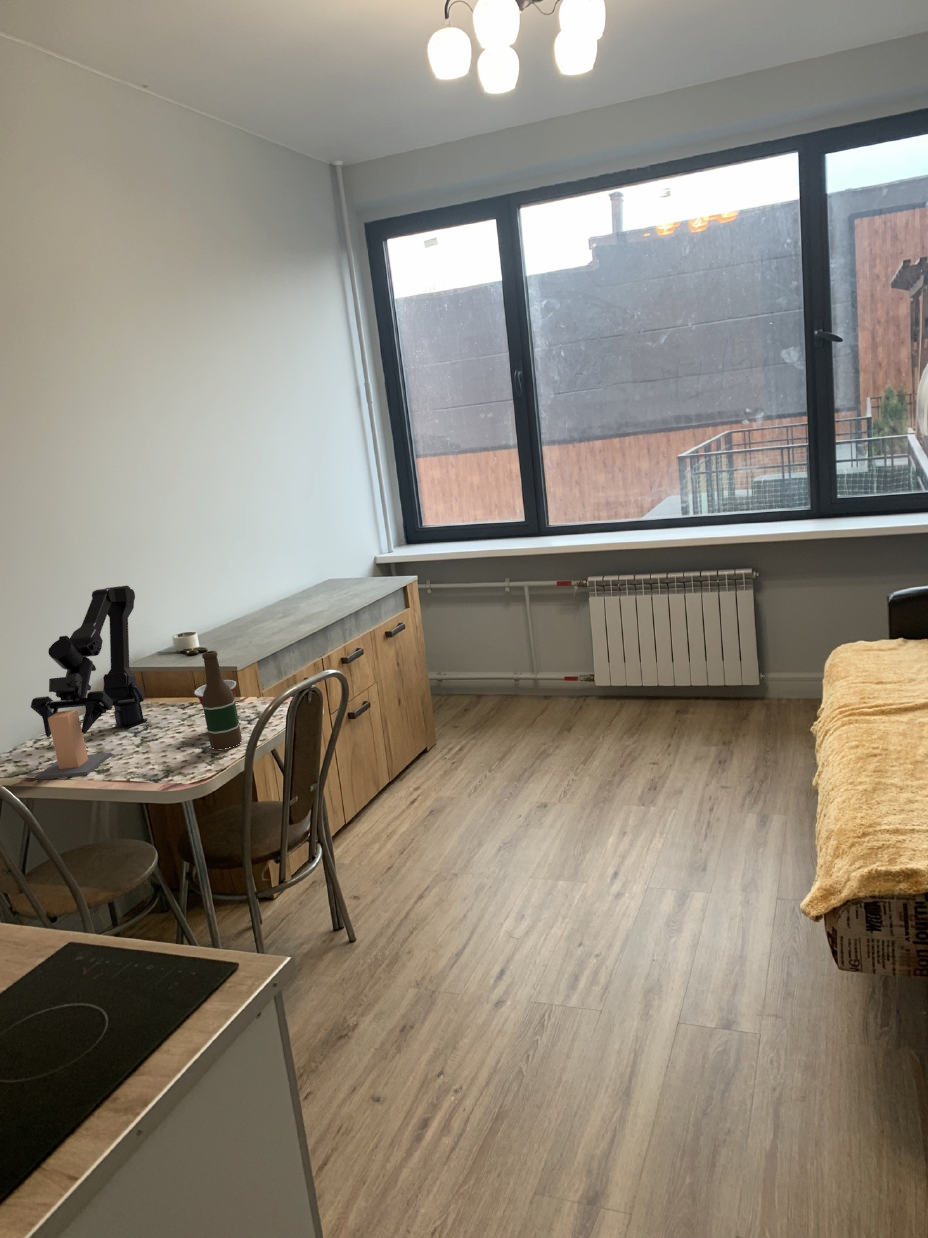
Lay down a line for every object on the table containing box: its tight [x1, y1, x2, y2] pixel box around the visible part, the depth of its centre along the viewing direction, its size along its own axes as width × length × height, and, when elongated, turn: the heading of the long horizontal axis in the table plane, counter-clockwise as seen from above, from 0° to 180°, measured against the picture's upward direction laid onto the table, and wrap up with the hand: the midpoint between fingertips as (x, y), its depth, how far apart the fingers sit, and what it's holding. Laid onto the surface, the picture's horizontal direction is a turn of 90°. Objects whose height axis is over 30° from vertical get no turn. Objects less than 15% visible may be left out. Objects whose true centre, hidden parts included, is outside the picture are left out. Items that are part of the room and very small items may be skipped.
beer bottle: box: [201, 650, 243, 750], centre depth 229 cm, size 8×8×24 cm
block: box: [48, 709, 88, 769], centre depth 228 cm, size 5×5×13 cm
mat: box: [34, 752, 112, 781], centre depth 229 cm, size 13×13×1 cm
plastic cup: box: [194, 679, 237, 708], centre depth 243 cm, size 11×11×12 cm
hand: (65, 734), depth 227 cm, fingers open, 9 cm apart
